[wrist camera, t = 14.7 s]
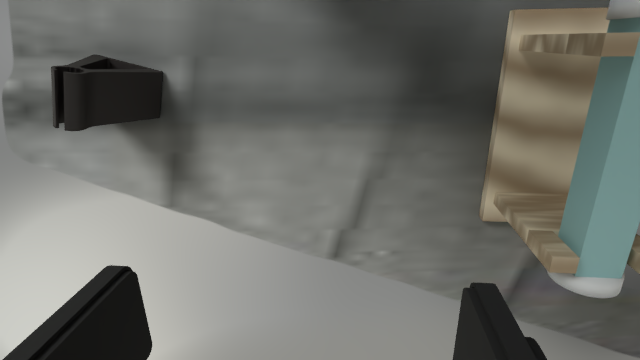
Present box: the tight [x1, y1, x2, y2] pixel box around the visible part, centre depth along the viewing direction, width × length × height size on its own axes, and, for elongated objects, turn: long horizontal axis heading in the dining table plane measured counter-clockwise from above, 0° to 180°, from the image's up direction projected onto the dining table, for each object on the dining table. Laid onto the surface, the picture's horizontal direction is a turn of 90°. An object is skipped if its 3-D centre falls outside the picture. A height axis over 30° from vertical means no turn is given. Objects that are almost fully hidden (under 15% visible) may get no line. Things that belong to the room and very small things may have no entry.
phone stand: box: [51, 55, 163, 131], centre depth 43 cm, size 9×6×12 cm, turn 76°
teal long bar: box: [547, 0, 640, 298], centre depth 32 cm, size 25×6×6 cm, turn 1°
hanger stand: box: [479, 8, 640, 274], centre depth 37 cm, size 25×12×16 cm, turn 1°
